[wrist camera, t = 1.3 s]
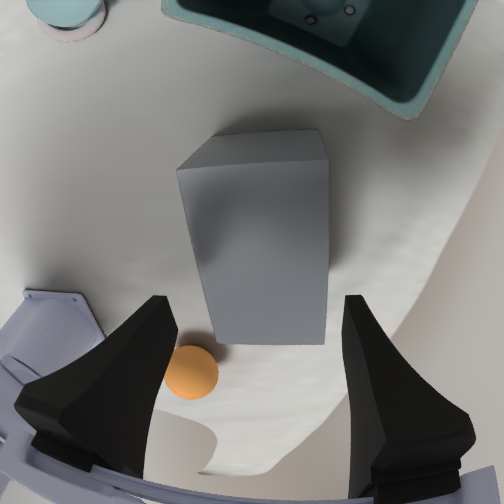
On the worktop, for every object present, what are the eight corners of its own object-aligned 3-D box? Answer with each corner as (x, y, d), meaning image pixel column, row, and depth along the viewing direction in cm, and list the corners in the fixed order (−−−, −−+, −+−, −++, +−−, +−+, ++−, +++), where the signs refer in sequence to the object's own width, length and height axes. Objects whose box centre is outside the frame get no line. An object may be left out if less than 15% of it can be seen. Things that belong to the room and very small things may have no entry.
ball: (179, 365, 31) (165, 405, 27) (165, 332, 28) (147, 375, 24) (227, 369, 30) (217, 412, 26) (217, 335, 27) (205, 381, 23)
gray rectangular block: (234, 277, 24) (217, 343, 18) (211, 136, 18) (176, 170, 13) (320, 276, 23) (324, 344, 17) (317, 129, 17) (329, 160, 12)
